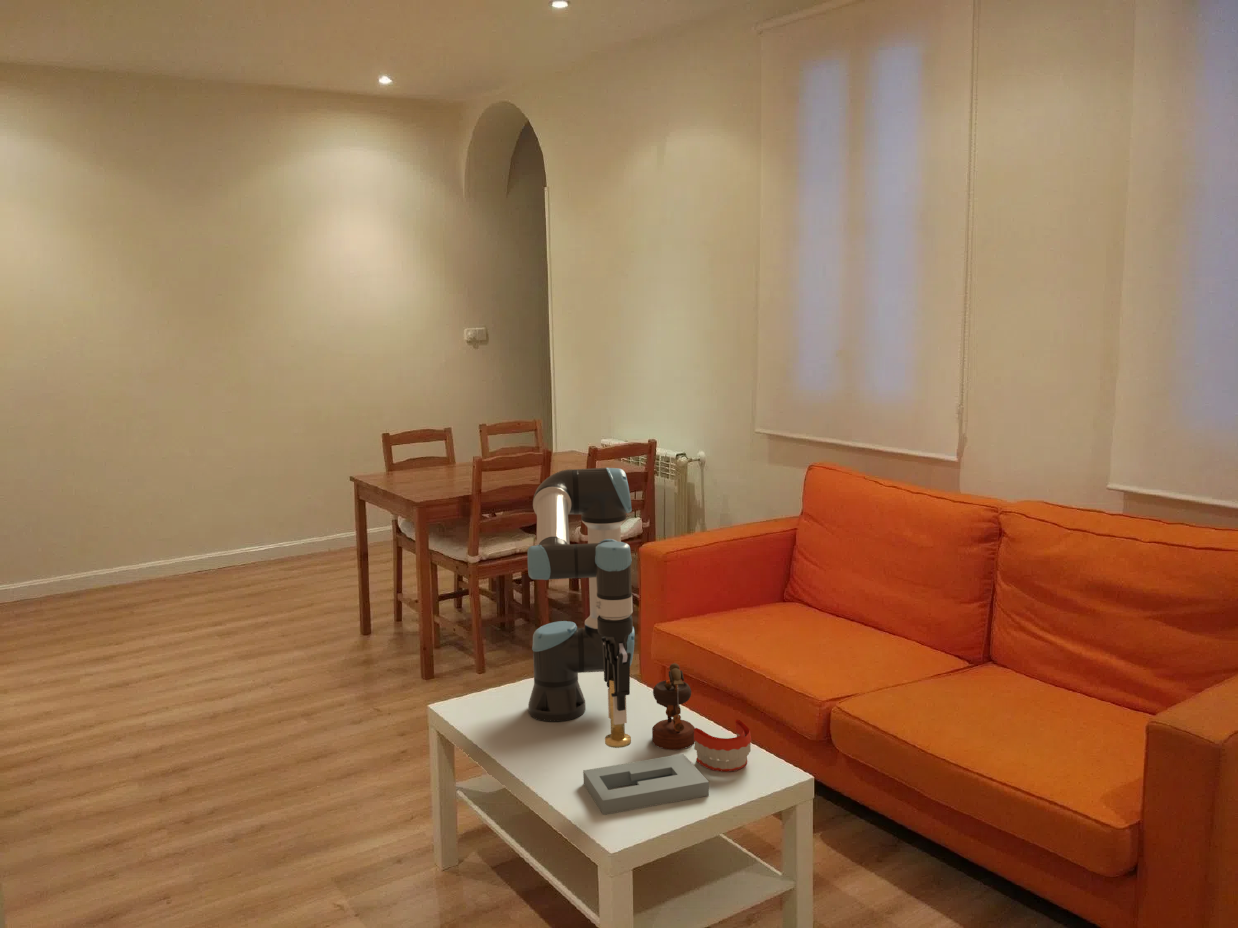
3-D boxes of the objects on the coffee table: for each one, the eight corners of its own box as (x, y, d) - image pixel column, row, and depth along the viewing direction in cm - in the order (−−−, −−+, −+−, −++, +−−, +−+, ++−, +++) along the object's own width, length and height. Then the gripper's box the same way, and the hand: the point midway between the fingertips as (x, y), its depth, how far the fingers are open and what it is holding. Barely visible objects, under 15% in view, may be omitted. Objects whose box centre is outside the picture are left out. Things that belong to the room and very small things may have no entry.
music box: (708, 746, 244) (700, 668, 241) (667, 759, 240) (659, 680, 237) (679, 723, 258) (672, 649, 255) (640, 735, 254) (632, 660, 250)
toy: (714, 779, 228) (713, 745, 226) (692, 761, 237) (692, 728, 236) (762, 768, 233) (762, 735, 231) (739, 750, 242) (738, 718, 241)
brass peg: (601, 739, 221) (600, 677, 219) (626, 735, 223) (624, 674, 221) (609, 749, 216) (607, 686, 214) (634, 745, 218) (632, 683, 216)
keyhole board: (583, 783, 227) (583, 770, 226) (683, 766, 234) (683, 753, 234) (603, 814, 213) (602, 800, 212) (708, 795, 220) (708, 781, 219)
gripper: (587, 607, 222) (590, 709, 225) (609, 627, 207) (612, 736, 210) (619, 603, 224) (622, 704, 227) (643, 623, 209) (646, 731, 212)
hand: (617, 719), depth 219 cm, fingers closed on brass peg, 3 cm apart
